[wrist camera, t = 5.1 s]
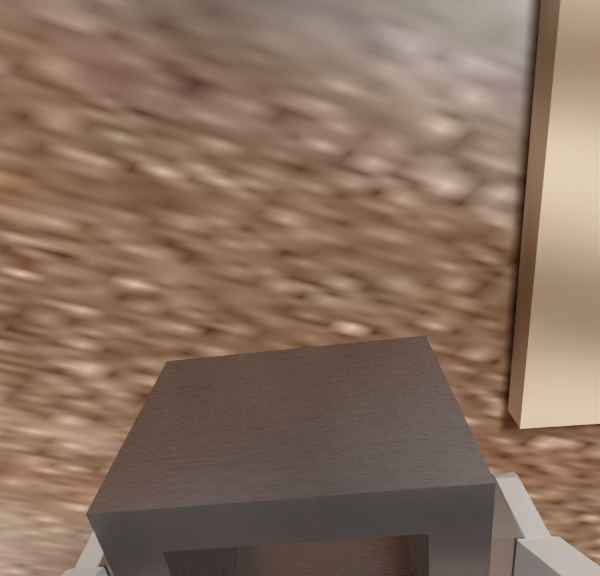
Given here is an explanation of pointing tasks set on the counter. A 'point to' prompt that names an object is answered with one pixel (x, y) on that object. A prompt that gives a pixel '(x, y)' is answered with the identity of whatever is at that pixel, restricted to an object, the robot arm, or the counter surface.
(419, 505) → the hollow square tube
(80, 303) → the counter surface
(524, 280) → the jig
